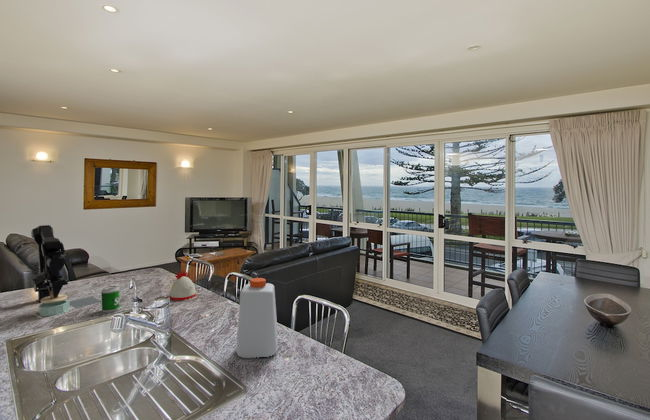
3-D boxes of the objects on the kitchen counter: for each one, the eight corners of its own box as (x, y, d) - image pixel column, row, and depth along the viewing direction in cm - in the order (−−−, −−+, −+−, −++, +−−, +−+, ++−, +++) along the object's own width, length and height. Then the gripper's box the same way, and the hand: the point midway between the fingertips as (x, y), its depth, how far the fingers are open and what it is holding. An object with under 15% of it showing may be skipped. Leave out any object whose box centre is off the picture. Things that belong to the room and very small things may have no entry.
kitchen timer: (165, 296, 188) (165, 271, 187) (188, 291, 199) (188, 266, 198) (176, 302, 179) (176, 275, 178) (200, 296, 190) (200, 270, 189)
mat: (65, 303, 176) (65, 302, 176) (91, 297, 186) (91, 296, 186) (76, 308, 168) (76, 308, 168) (102, 302, 178) (102, 301, 178)
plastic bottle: (241, 340, 136) (241, 274, 134) (278, 340, 137) (278, 274, 135) (234, 360, 121) (234, 285, 119) (275, 359, 122) (276, 285, 120)
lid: (37, 300, 161) (36, 291, 161) (63, 294, 170) (62, 286, 169) (44, 304, 155) (44, 295, 155) (71, 298, 164) (70, 290, 164)
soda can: (111, 314, 161) (110, 290, 161) (98, 312, 163) (97, 289, 162) (123, 308, 169) (122, 286, 168) (111, 307, 170) (110, 284, 169)
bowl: (36, 313, 161) (35, 304, 161) (64, 306, 171) (64, 298, 170) (44, 318, 155) (43, 309, 155) (73, 311, 164) (72, 302, 164)
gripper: (25, 266, 160) (26, 297, 161) (38, 272, 149) (39, 305, 151) (53, 262, 169) (54, 291, 170) (67, 267, 159) (69, 299, 160)
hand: (54, 296), depth 162 cm, fingers closed on lid, 3 cm apart
